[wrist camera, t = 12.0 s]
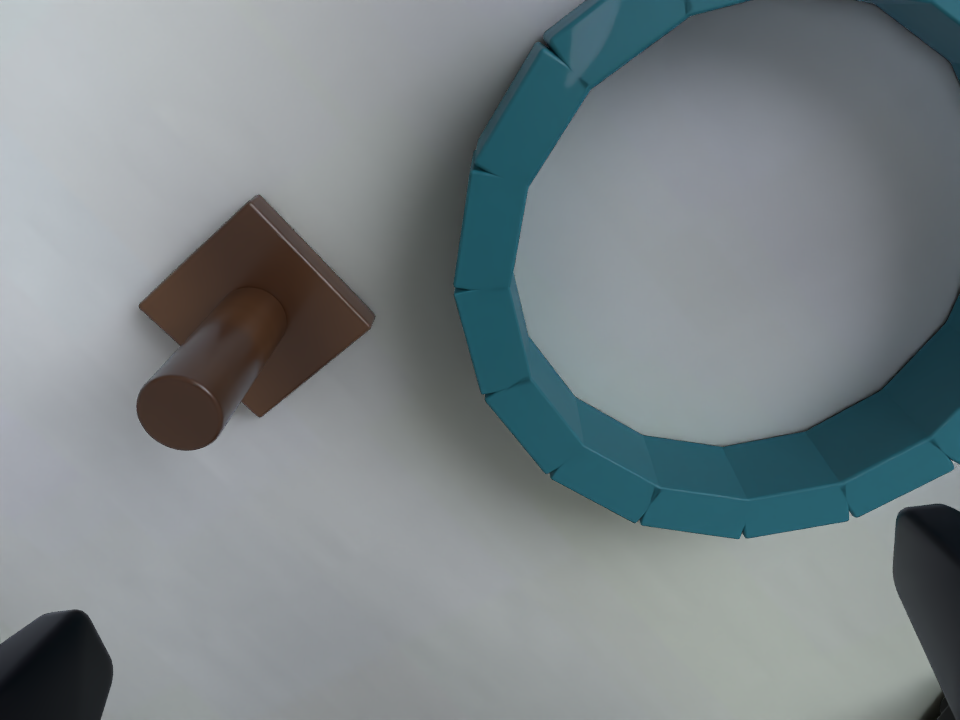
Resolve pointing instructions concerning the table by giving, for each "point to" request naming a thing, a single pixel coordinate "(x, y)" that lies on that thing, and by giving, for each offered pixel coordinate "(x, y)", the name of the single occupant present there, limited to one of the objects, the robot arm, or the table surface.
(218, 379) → the post
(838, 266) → the table surface
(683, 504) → the ring
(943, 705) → the figurine
